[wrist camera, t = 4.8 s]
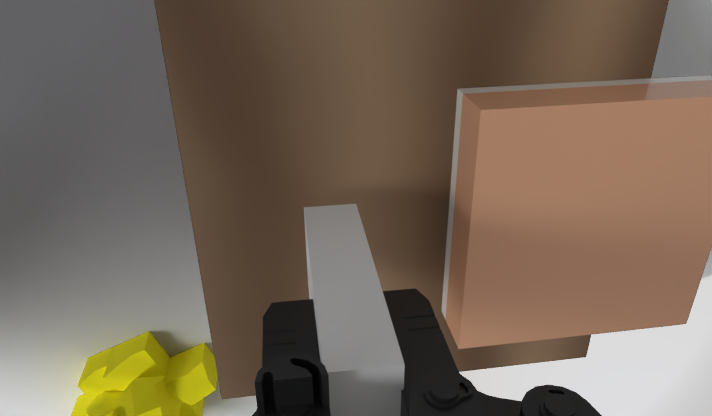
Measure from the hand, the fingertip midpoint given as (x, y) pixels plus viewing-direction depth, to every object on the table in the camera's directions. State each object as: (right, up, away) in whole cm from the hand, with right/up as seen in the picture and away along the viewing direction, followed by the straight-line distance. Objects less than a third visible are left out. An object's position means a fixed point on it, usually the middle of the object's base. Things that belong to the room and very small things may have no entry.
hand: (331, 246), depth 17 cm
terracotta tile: (+8, +1, +2) cm, 8 cm away
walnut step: (+1, +6, +10) cm, 12 cm away
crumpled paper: (-11, -8, +16) cm, 21 cm away
